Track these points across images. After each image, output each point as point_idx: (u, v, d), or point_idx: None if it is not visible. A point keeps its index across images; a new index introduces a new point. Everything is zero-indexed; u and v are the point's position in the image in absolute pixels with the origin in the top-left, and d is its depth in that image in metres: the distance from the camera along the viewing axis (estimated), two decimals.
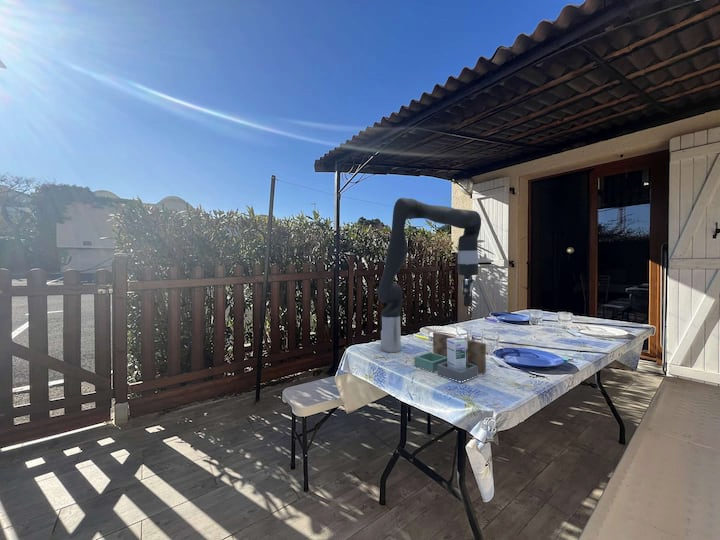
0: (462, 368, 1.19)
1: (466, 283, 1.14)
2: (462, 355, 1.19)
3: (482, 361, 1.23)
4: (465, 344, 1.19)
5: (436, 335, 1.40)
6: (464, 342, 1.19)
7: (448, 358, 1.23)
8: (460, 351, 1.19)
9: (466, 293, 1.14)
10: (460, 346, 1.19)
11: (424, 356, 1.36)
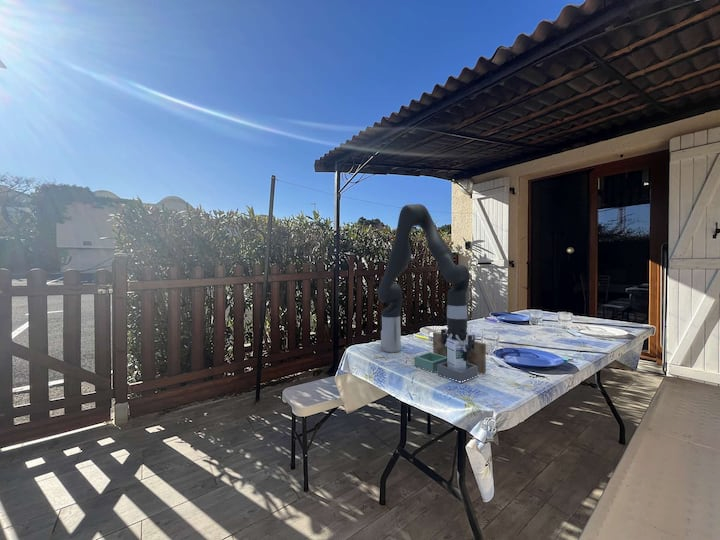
0: (462, 368, 1.19)
1: (472, 339, 1.16)
2: (462, 355, 1.19)
3: (482, 361, 1.23)
4: None
5: (436, 335, 1.40)
6: (464, 342, 1.19)
7: (448, 358, 1.23)
8: (460, 351, 1.19)
9: (472, 348, 1.16)
10: (460, 346, 1.19)
11: (424, 356, 1.36)
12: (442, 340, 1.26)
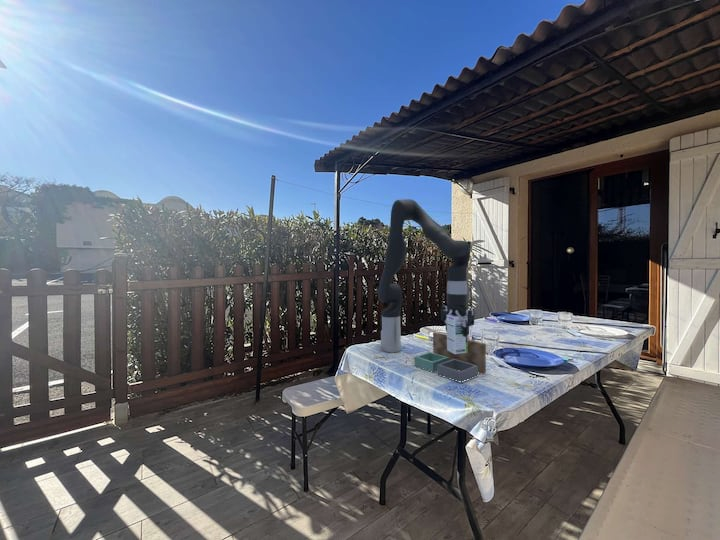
0: (462, 344, 1.19)
1: (472, 314, 1.16)
2: (461, 331, 1.19)
3: (482, 361, 1.23)
4: None
5: (436, 335, 1.40)
6: (464, 317, 1.19)
7: (448, 334, 1.23)
8: (460, 327, 1.19)
9: (471, 324, 1.16)
10: (460, 322, 1.19)
11: (424, 356, 1.36)
12: (442, 317, 1.25)
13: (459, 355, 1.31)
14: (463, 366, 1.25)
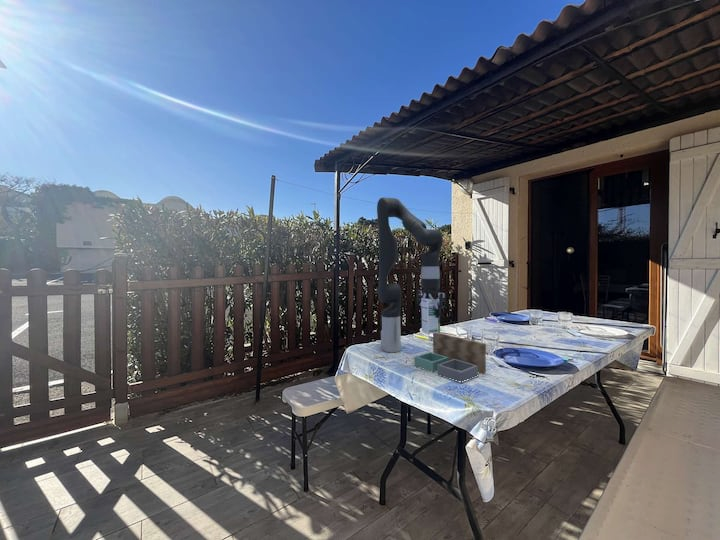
0: (434, 324, 1.29)
1: (443, 297, 1.26)
2: (434, 312, 1.29)
3: (482, 361, 1.23)
4: None
5: (436, 335, 1.40)
6: (437, 300, 1.29)
7: (422, 316, 1.33)
8: (433, 309, 1.29)
9: (443, 305, 1.26)
10: (433, 304, 1.29)
11: (424, 356, 1.36)
12: (417, 300, 1.35)
13: (459, 355, 1.31)
14: (463, 366, 1.25)
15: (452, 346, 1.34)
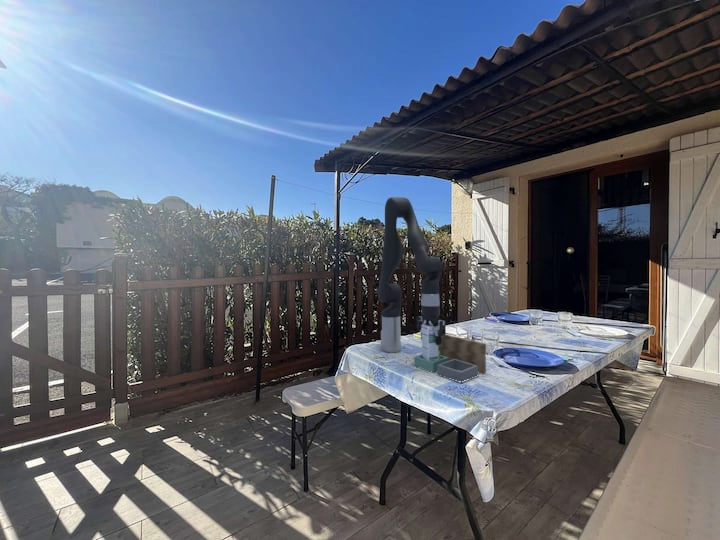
0: (435, 352, 1.29)
1: (443, 324, 1.26)
2: (434, 339, 1.29)
3: (482, 361, 1.23)
4: None
5: None
6: (437, 327, 1.30)
7: (422, 343, 1.33)
8: (433, 336, 1.29)
9: (443, 333, 1.27)
10: (433, 331, 1.29)
11: None
12: (417, 327, 1.36)
13: (459, 355, 1.31)
14: (463, 366, 1.25)
15: (452, 346, 1.34)
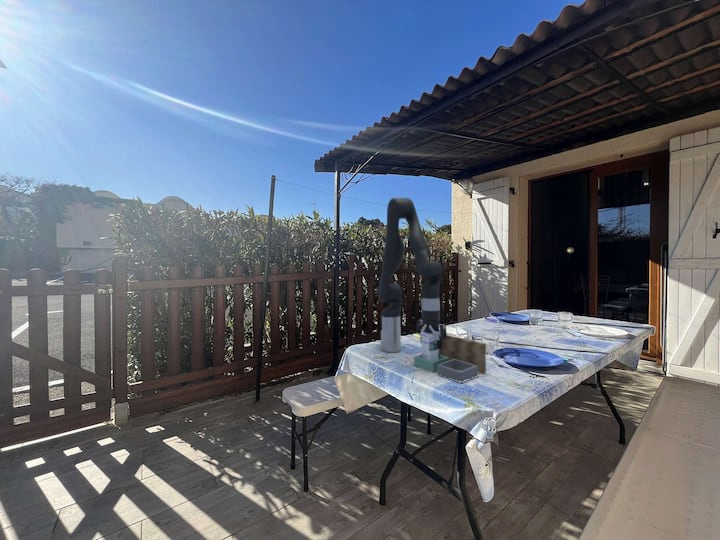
0: (435, 359, 1.30)
1: (444, 328, 1.26)
2: (434, 347, 1.30)
3: (482, 361, 1.23)
4: None
5: None
6: None
7: (422, 350, 1.33)
8: (433, 343, 1.30)
9: (444, 337, 1.26)
10: (433, 339, 1.30)
11: None
12: (417, 330, 1.36)
13: (459, 355, 1.31)
14: (463, 366, 1.25)
15: (452, 346, 1.34)
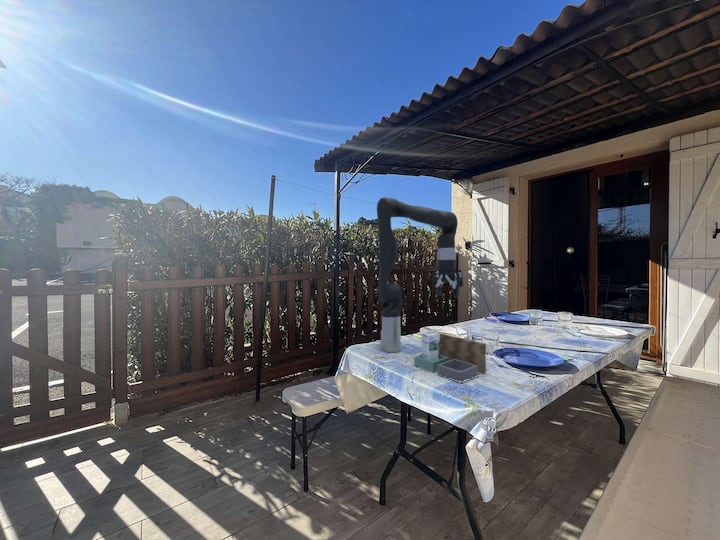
0: (435, 359, 1.30)
1: (460, 276, 1.27)
2: (434, 347, 1.30)
3: (482, 361, 1.23)
4: (437, 337, 1.30)
5: None
6: (437, 335, 1.30)
7: (422, 350, 1.33)
8: (433, 344, 1.30)
9: (460, 285, 1.27)
10: (433, 339, 1.30)
11: None
12: (433, 282, 1.37)
13: (459, 355, 1.31)
14: (463, 366, 1.25)
15: (452, 346, 1.34)
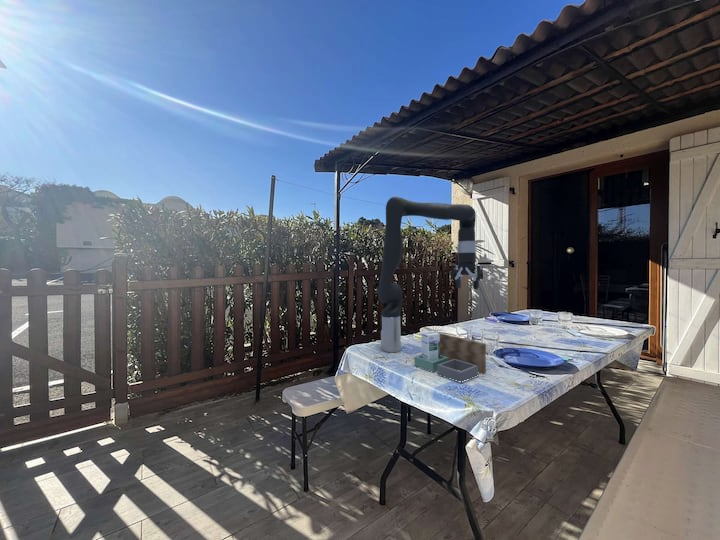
0: (435, 359, 1.30)
1: (481, 269, 1.31)
2: (434, 347, 1.30)
3: (482, 361, 1.23)
4: (437, 337, 1.30)
5: None
6: (437, 335, 1.30)
7: (422, 350, 1.33)
8: (433, 344, 1.30)
9: (481, 277, 1.31)
10: (433, 339, 1.30)
11: None
12: (452, 274, 1.41)
13: (459, 355, 1.31)
14: (463, 366, 1.25)
15: (452, 346, 1.34)
